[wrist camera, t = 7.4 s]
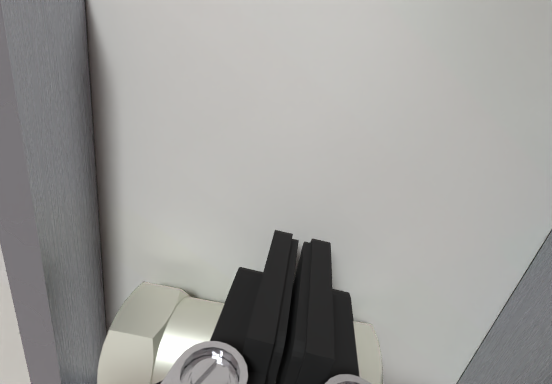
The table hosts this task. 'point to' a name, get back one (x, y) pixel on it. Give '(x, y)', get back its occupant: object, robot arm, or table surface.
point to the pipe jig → (85, 220)
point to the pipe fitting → (183, 336)
